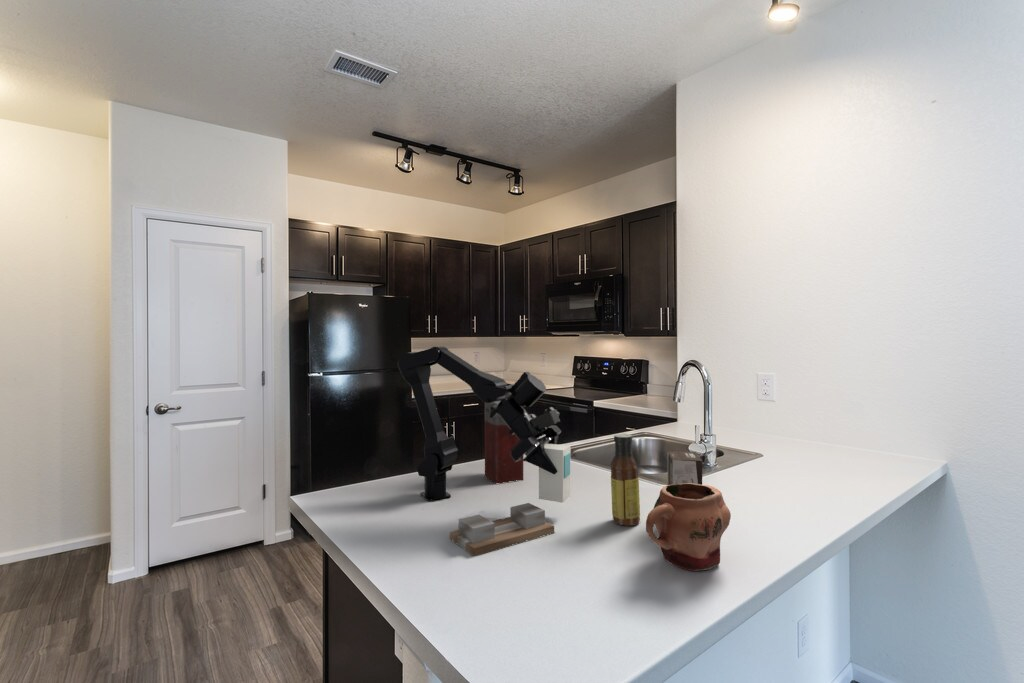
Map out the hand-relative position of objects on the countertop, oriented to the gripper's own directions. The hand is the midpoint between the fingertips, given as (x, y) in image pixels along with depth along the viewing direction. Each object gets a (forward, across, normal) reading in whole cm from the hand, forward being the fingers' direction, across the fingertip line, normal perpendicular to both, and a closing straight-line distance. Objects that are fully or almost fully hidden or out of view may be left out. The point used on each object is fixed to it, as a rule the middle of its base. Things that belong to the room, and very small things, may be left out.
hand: (560, 470), depth 116 cm
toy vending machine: (-12, +24, +28) cm, 38 cm away
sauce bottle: (+18, +4, -2) cm, 19 cm away
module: (+4, 0, +6) cm, 7 cm away
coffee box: (+27, +6, -11) cm, 30 cm away
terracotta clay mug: (+29, -12, -13) cm, 34 cm away
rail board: (+3, -16, +13) cm, 20 cm away
